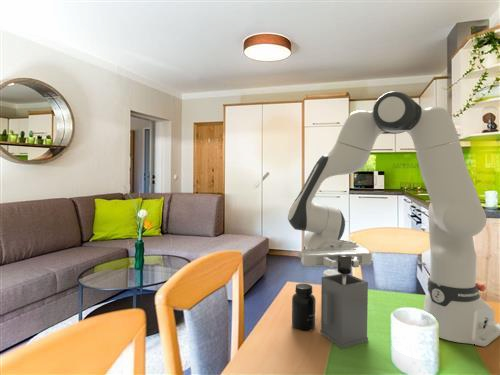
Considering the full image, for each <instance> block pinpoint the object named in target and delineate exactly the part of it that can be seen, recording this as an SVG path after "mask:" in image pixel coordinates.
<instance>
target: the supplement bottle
mask: <svg viewBox="0 0 500 375" xmlns="http://www.w3.org/2000/svg"><path fill="white" fill-rule="evenodd" d="M294 291H295V293H294V294H293V295H292V297H291V325H292V327H293V328H294V329H296V330H298V331H303V332H307V331H308V332H310V331H311V330H313V329H315V327H316V297H315V295H314V294H313V285H311V284H309V283H298V284H295V290H294Z"/></svg>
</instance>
